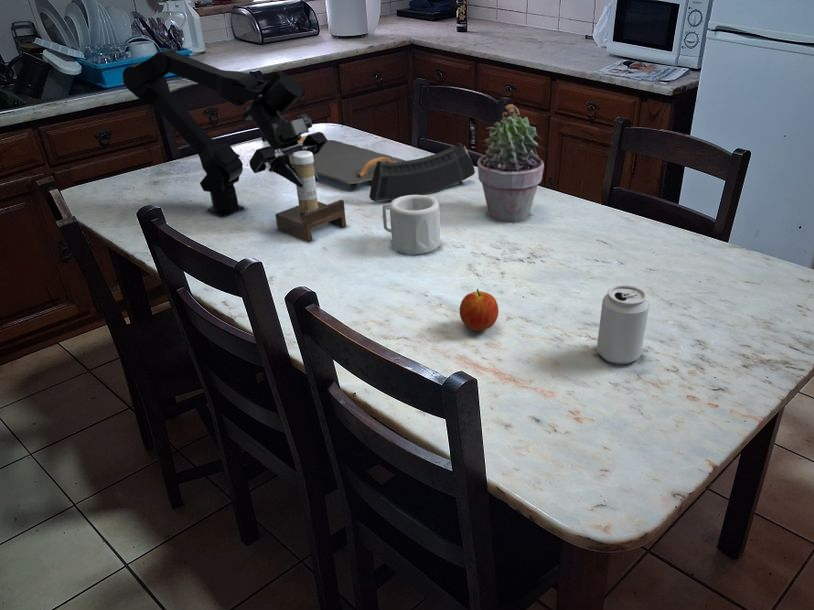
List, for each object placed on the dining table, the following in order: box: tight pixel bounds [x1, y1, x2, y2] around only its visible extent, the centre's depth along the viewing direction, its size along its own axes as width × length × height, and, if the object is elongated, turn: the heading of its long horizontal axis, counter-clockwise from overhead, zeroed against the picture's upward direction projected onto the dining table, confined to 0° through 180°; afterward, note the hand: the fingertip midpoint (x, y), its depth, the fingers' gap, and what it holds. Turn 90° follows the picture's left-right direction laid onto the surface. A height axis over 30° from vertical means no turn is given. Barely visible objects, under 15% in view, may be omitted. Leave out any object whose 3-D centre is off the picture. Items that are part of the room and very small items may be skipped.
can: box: [596, 284, 650, 365], centre depth 116 cm, size 8×8×12 cm
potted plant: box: [477, 103, 548, 224], centre depth 164 cm, size 18×20×25 cm
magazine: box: [368, 142, 476, 202], centre depth 181 cm, size 17×3×30 cm
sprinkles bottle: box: [292, 151, 319, 213], centre depth 158 cm, size 5×5×14 cm
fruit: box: [459, 288, 499, 332], centre depth 125 cm, size 7×7×8 cm
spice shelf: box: [274, 199, 347, 243], centre depth 163 cm, size 11×12×6 cm
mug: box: [382, 195, 441, 255], centre depth 154 cm, size 14×11×10 cm
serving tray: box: [289, 135, 406, 192], centre depth 198 cm, size 39×23×6 cm, turn 51°
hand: (309, 183), depth 158 cm, fingers closed on sprinkles bottle, 4 cm apart
